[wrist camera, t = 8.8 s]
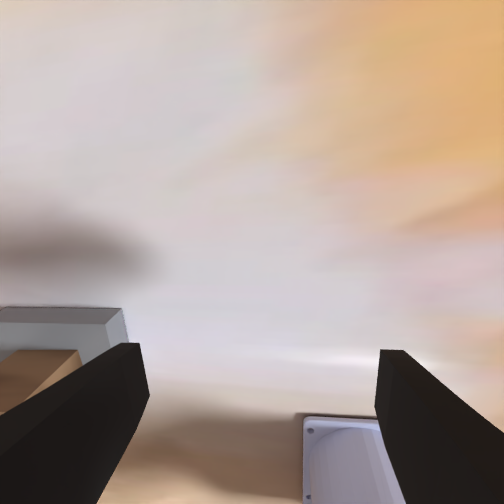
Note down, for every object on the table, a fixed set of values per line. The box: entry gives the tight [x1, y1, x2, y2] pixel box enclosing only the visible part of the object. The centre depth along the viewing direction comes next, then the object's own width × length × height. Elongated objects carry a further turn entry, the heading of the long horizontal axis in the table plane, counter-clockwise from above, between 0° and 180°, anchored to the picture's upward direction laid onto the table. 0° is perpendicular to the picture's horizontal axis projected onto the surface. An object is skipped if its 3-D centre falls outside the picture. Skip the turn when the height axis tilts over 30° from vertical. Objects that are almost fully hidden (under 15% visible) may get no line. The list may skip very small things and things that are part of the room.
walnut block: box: [0, 350, 83, 415], centre depth 18 cm, size 4×4×5 cm
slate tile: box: [0, 307, 129, 365], centre depth 22 cm, size 9×9×2 cm
